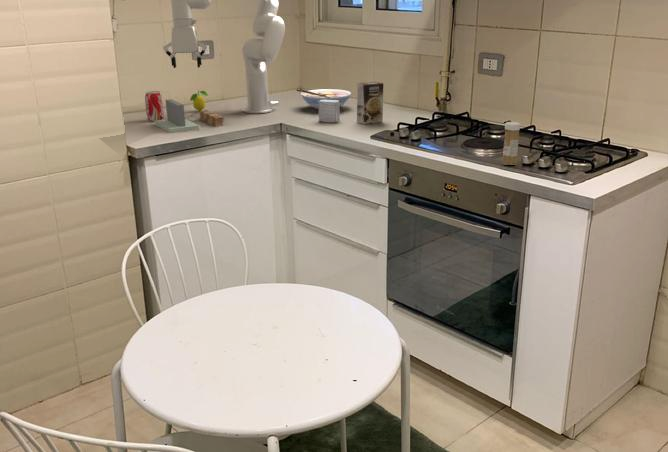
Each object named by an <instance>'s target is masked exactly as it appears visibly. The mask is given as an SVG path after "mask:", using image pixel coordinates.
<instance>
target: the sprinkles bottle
mask: <svg viewBox="0 0 668 452" xmlns="http://www.w3.org/2000/svg"><path fill="white" fill-rule="evenodd" d="M520 130H521V123H520V122H518V121H507V122H505V124H504V141H503V149H502V150H503V151H502V162H503V163H505V164H516V165H517V158H518V148H519V136H520ZM502 162H501V163H502Z"/></svg>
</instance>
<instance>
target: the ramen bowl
mask: <svg viewBox="0 0 668 452" xmlns="http://www.w3.org/2000/svg"><path fill="white" fill-rule="evenodd" d="M296 92H300V93H301V94H300V95H301V97H302V99H303V100H304V101H305V103H306V104H307V105H309V106H310V107H312V108H314V109H317V110H318V109H319V103H318V102H319V101H320V100H339V107H342V106H343V105H345V104H346V103H347V101H348V100H349V99H350V96H351V91H348V90H344V89H334V88H333V89H332V88H329V89H327V88H326V89H324V88H323V89H322V88H321V89H311V90H306V89H302V88H300V89H296Z"/></svg>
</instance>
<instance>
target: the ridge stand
mask: <svg viewBox="0 0 668 452" xmlns="http://www.w3.org/2000/svg"><path fill="white" fill-rule="evenodd" d="M165 108H166V116H167V117H166V118H167V119H162V120H158V121H154V125H155V126H157V127H159V128H160V129H162V130H164V131H165V132H168V133H169V134H172V133H181V132H188V131H196V130H197V131H198V130H200V125H199V124H196V123H195V122H192V121H190V120H188V119H187V118H186V117H185V105H184V104H183V103H181V102H178V101H176V100H174V99H165Z"/></svg>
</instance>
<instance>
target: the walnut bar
mask: <svg viewBox="0 0 668 452" xmlns="http://www.w3.org/2000/svg"><path fill="white" fill-rule="evenodd" d="M199 118H200V120H201V121H203V122H204V123H207V124H209V125H211V126H213V127H215V128H217V127H223V126H224V122H223V116H221V115H219V114H216V113H214V112H211V111H209V110H208V109H205V110H204V109H203V110H201V111H200V112H199Z"/></svg>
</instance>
